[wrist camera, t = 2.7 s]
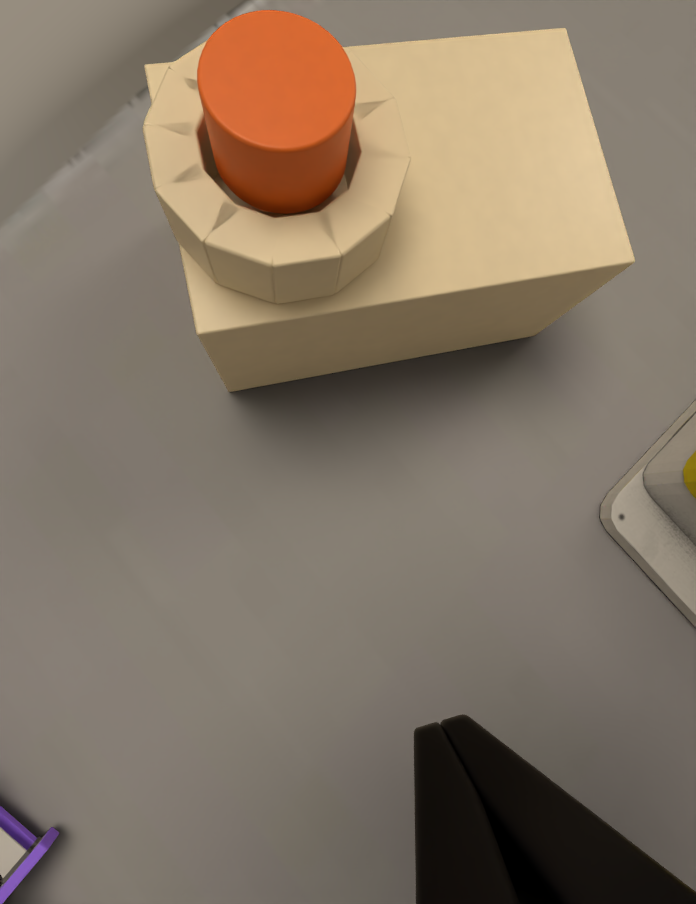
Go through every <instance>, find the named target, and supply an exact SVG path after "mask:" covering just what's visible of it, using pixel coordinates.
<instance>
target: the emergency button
mask: <svg viewBox="0 0 696 904" xmlns="http://www.w3.org/2000/svg"><path fill="white" fill-rule="evenodd" d="M600 520H601V522H602V523H603V525H604V527H605V529H606V531H607V532H608V533H609V534H610V535H611V536H612V537H613V538H614V539H615V540H616V542H617V543H618V544H619V545H620V546H621V547H622V548H623V549H624V550H625V551H626V552H627V553H628V555H629V556H630V557H631V558H632V559H633V560H634V561H635V562H636V563H637V564H638V565H639V566H640V568H641V569H642V570H643V571H644V572H645V573H646V574H647V575H648V576H649V577H650V578H651V580H652V581H653V582H654V583H655V584H656V585H657V586H658V587H659V588H660V589H661V590H662V591H663V593H664V594H665V595H666V596H667V597H668V598H669V599H670V600H671V601H672V602H673V603H674V605H675V606H676V607H677V608H678V609H679V610H680V611H681V612H682V613H683V614H684V615H685V616H686V618H687V619H688V620H689V621H690V622H691V623H692V624H693V625H694V626H695V627H696V400H695V401H694V402H693V403H692V405H691V406H690V407H689V408H688V409H687V410H686V411H685V412H684V413H683V414H682V415H681V416H680V417H679V418H678V419H677V420H676V422H675V423H674V424H673V425H672V426H671V427H670V428H669V429H668V430H667V431H666V432H665V433H664V434H663V435H662V436H661V437H660V438H659V440H658V441H657V442H656V443H655V444H654V445H653V446H652V447H651V448H650V449H649V450H648V451H647V452H646V453H645V454H644V455H643V457H642V458H641V459H640V460H639V461H638V462H637V463H636V464H635V465H634V466H633V467H632V468H631V469H630V470H629V471H628V472H627V474H626V475H625V476H624V477H623V478H622V479H621V480H620V481H619V482H618V483H617V484H616V485H615V486H614V487H613V488H612V489H611V491H610V492H609V493H608V494H607V495H606V497H605V499H604V500H603V502H602V504H601V507H600Z"/></svg>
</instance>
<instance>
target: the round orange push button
mask: <svg viewBox="0 0 696 904" xmlns="http://www.w3.org/2000/svg"><path fill="white" fill-rule="evenodd" d="M197 84H198V91H199V95H200V99H201V104H202V108H203V112H204V117H205V121H206V125H207V130H208V134H209V139H210V143H211V147H212V152H213V156H214V160H215V164H216V167H217V170H218V172H219V174H220V176H221V178H222V179H223V181H224V183H225V184H226V185H227V186H228V188H229V189H230V190H231V191H232V192H233V193H234V194H235V195H236V196H237V197H239V198H240V199H241V200H243V201H244V202H246V203H248V204H249V205H251V206H253V207H255V208H258V209H260V210H263V211H267V212H272V213H279V214H290V213H298V212H303V211H306V210H309V209H311V208H313V207H315V206H317V205H319V204H321V203H322V202H324V201H325V200H326V199H327V198H328V197H329V196H330V195H331V194H332V193H333V192H334V191H335V190H336V188H337V187H338V185H339V184H340V182H341V180H342V177H343V175H344V172H345V168H346V162H347V155H348V148H349V141H350V134H351V128H352V121H353V114H354V107H355V100H356V80H355V74H354V71H353V68H352V65H351V62H350V60H349V58H348V56H347V54H346V52H345V51H344V49H343V48H342V46H341V45H340V44H339V42H338V41H337V40H336V39H335V38H334V37H333V36H332V35H331V34H330V33H329V32H328V31H326V30H325V29H324V28H322V27H321V26H320V25H318V24H316V23H315V22H313V21H311V20H309V19H307V18H305V17H302V16H299V15H296V14H293V13H289V12H284V11H275V10H262V11H254V12H250V13H246V14H242V15H240V16H237V17H235V18H233V19H231V20H229V21H228V22H226V23H224V24H223V25H222V26H221V27H219V28H218V29H217V30H216V31H215V32H214V33H213V34H212V35H211V37H210V38H209V39H208V41H207V42H206V44H205V46H204V48H203V50H202V53H201V56H200V59H199V63H198V69H197Z"/></svg>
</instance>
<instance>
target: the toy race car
mask: <svg viewBox="0 0 696 904" xmlns="http://www.w3.org/2000/svg"><path fill="white" fill-rule="evenodd" d="M58 835H59V832H58V831H57V830H56V829H54V828H53V827H51V828H50V829H49V830H48V832H47V833H46V834H45V835H44V836H43V837H42V838H41V837H40V836H39V837H38V838H37V837H35V836H34V835H33V834H32V833H31V832H30V831H29V830H27V829H26V828H25V827H24V826H23V825H22V824H21V823H19V822H18V821H17V820H16V819H15V818H14V817H13V816H12V815H10V814H9V813H8V812H7V811H6V810H5V809H4V808H2V807H1V806H0V875H1V876H2V877H3V879H2V880H1V882H2V883H3V884H2V885H1V887H0V904H3V902H4V901H5V900H6V899H7V898H8V896H9V895H10V894H11V893H12V892H13V891H14V889H15V888H16V887H17V886H18V885H19V883H20V882H21V881H22V880H23V879H24V877H25V876H26V875H27V874H28V873H29V871H30V870H31V869H32V868H33V867H34V865H35V864H36V863H37V862H38V861H39V860H40V858H41V857H42V856H43V855H44V854H45V852H46V851H47V850H48V849H49V847H50V846H51V844H52V843H53V842H54V840H55V839H56V838H57V836H58Z"/></svg>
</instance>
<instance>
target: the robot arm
mask: <svg viewBox="0 0 696 904" xmlns="http://www.w3.org/2000/svg"><path fill="white" fill-rule="evenodd" d="M414 782H415V855H416V904H696V892H695V891H694V890H692V889H691V888H690V887H689V886H687V885H686V884H685V883H683V882H682V881H681V880H680V879H678V878H677V877H676V876H674V875H673V874H672V873H670V872H669V871H668V870H667V869H665V868H664V867H663V866H661V865H660V864H659V863H658V862H656V861H655V860H654V859H652V858H651V857H650V856H648V855H647V854H646V853H645V852H643V851H642V850H641V849H639V848H638V847H637V846H636V845H634V844H633V843H632V842H630V841H629V840H628V839H626V838H625V837H624V836H623V835H621V834H620V833H619V832H617V831H616V830H615V829H614V828H612V827H611V826H610V825H608V824H607V823H606V822H604V821H603V820H602V819H601V818H599V817H598V816H597V815H595V814H594V813H593V812H592V811H590V810H589V809H588V808H586V807H585V806H584V805H582V804H581V803H580V802H579V801H577V800H576V799H575V798H573V797H572V796H571V795H570V794H568V793H567V792H566V791H564V790H563V789H562V788H560V787H559V786H558V785H557V784H555V783H554V782H553V781H551V780H550V779H549V778H548V777H546V776H545V775H544V774H542V773H541V772H540V771H538V770H537V769H536V768H535V767H533V766H532V765H531V764H529V763H528V762H527V761H526V760H524V759H523V758H522V757H520V756H519V755H518V754H516V753H515V752H514V751H513V750H511V749H510V748H509V747H507V746H506V745H505V744H504V743H502V742H501V741H500V740H498V739H497V738H496V737H494V736H493V735H492V734H491V733H489V732H488V731H487V730H485V729H484V728H483V727H482V726H480V725H479V724H478V723H476V722H475V721H474V720H472V719H471V718H470V717H468V716H467V715H458V716H455V717H451V718H448V719H445V720H443V721H442V722H441V724H439V723H437V722H435V723H431V724H428V725H425V726H421V727H418V728H416V729H415V731H414Z"/></svg>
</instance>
